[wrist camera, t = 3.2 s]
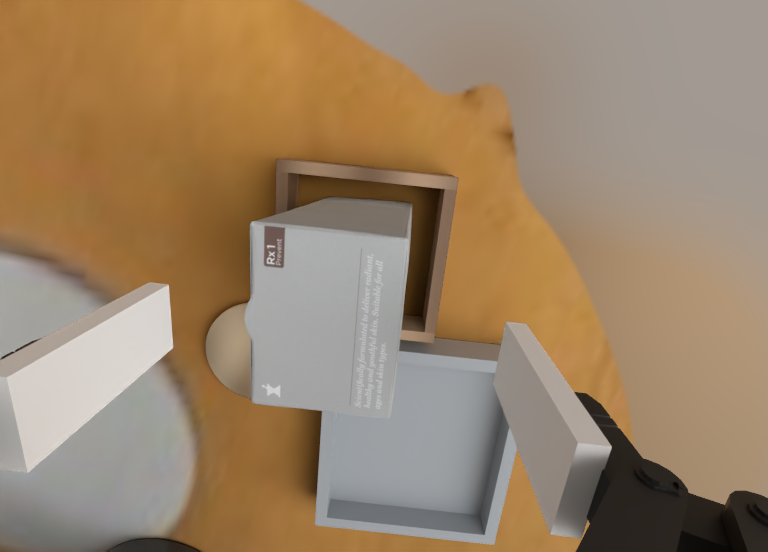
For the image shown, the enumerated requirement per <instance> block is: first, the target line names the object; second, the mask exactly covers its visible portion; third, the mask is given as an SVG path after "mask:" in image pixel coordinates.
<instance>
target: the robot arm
mask: <svg viewBox="0 0 768 552" xmlns="http://www.w3.org/2000/svg"><path fill="white" fill-rule="evenodd" d="M172 348H173V338H172V324H171V310H170V296H169V284H160V283H151V282H149V283H147V284H145V285H143V286H141V287H139V288H138V289H136V290H134V291H132V292H130V293H128V294H126V295H124V296H122V297H120V298H118V299H116V300H115V301H113V302H111V303H109V304H107V305H105V306H103V307H101V308H99V309H97V310H95V311H93V312H92V313H90V314H88V315H86V316H84V317H82V318H80V319H78V320H76V321H74V322H72V323H71V324H69V325H67V326H65V327H63V328H61V329H59V330H57V331H55V332H53V333H51V334H49V335H48V336H46V337H44V338H41V339H38V340H35V341H32V342H30V343H28V344H26V345H24V346H22V347H20V348H19V349H17V350H15V352H11V353H9V354H7V355H5V356H3V357H2V358H1V359H0V470H8V471H16V472H25V473H28V472H29V471H31V470H32V469H33V468H34V467H35V466H36V465H37V464H39V463H40V462H41V461H42V460H43V459H44V458H46V457H47V456H48V455H49V454H50V453H51V452H53V451H54V450H55V449H56V448H57V447H58V446H60V445H61V444H62V443H63V442H64V441H65V440H67V439H68V438H69V437H70V436H71V435H72V434H74V433H75V432H76V431H77V430H78V429H79V428H81V427H82V426H83V425H84V424H85V423H86V422H87V421H89V420H90V419H91V418H92V417H93V416H94V415H96V414H97V413H98V412H99V411H100V410H101V409H103V408H104V407H105V406H106V405H107V404H108V403H110V402H111V401H112V400H113V399H114V398H115V397H117V396H118V395H119V394H120V393H121V392H122V391H124V390H125V389H126V388H127V387H128V386H129V385H130V384H132V383H133V382H134V381H135V380H136V379H137V378H139V377H140V376H141V375H142V374H143V373H144V372H146V371H147V370H148V369H149V368H150V367H151V366H153V365H154V364H155V363H156V362H157V361H158V360H160V359H161V358H162V357H163V356H164V355H165V354H167V353H168V352H169V351H170V350H171V349H172ZM493 385H494V388H495V391H496V393H497V396H498V398H499V401H500V404H501V406H502V409H503V412H504V414H505V417H506V419H507V422H508V425H509V427H510V430H511V433H512V435H513V438H514V440H515V443H516V446H517V448H518V451H519V454H520V456H521V459H522V462H523V464H524V467H525V469H526V472H527V475H528V477H529V480H530V483H531V485H532V488H533V490H534V493H535V496H536V498H537V501H538V504H539V506H540V509H541V511H542V514H543V517H544V519H545V522H546V525H547V527H548V530H549V533H550V535H558V536H567V537H575V538H582V535H583V532H584V529H585V526H586V523H587V520H589V522H590V525H589V527H588V529H587V531H586V533H585V535H584V537H583V539H582V541H581V543H580V545H579V547H578V549H577V551H576V552H768V498H766V497H764V496H762V495H759V494H756V493H752V492H748V491H734V492H733V493H731V494H730V495H729V498H728V500H727V502H726V504H725V505H723V504H720V503H717V502H714V501H711V500H708V499H705V498H702V497H699V496H696V495H693V494H690V493H688V489H687V488H686V486H685V485H684V483H683V482H682V481H681V480H680V479H679V478H678V477H677V476H676V475H675V474H673V473H672V472H671V471H669V470H668V469H666V468H664V467H663V466H661V465H659V464H657V463H654V462H652V461H649V460H647V459H643V458H642V457H641V456H640V454H639V453H638V452H637V450H636V449H635V448H634V446H633V445H632V444H631V443H630V441H629V440H628V439H627V437H626V436H625V435H624V434H623V432H622V431H621V430H620V428H618V426H617V424H616V423H615V422H614V421H613V419H612V418H610V415H609V414H608V413H607V412H606V410H605V409H604V408H603V406H602V405H601V404H600V403H598V402H597V401H596V400H594V399H593V398H592V397H590V396H589V395H588V394H586V393H578V392H573V390H572V389H571V387H570V386H569V385H568V383H567V382H566V380H565V379H564V377H563V376H562V375H561V373H560V372H559V370H558V369H557V367H556V366H555V365H554V363H553V362H552V360H551V359H550V357H549V356H548V355H547V353H546V352H545V350H544V349H543V347H542V346H541V345H540V343H539V342H538V340H537V339H536V337H535V336H534V335H533V333H532V332H531V330H530V329H529V327H528V326H527V325H526V324H523V323H514V322H506V324H505V329H504V334H503V338H502V343H501V348H500V353H499V357H498V362H497V367H496V372H495V376H494V381H493ZM109 552H199V551H197V550H195V549H193V548H190V547H188V546H185V545H183V544H179V543H176V542H172V541H167V540H160V539H140V540H134V541H129V542H126V543H123V544H121V545H118V546H116V547H115V548H113V549H112V550H110V551H109Z"/></svg>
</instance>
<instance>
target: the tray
mask: <svg viewBox="0 0 768 552" xmlns="http://www.w3.org/2000/svg"><path fill="white" fill-rule="evenodd" d="M500 348H501V345H498V344H489V343H480V342H470V341H461V340H452V339H442V338H435V339H434V343H427V342H418V341H408V340H400V347H399V355H398V363H397V371H396V380H395V388H394V396H393V403H392V410H391V416H390V417H389V418H377V417H365V416H357V415H349V414H342V413H334V412H327V411H322V420H321V436H320V452H319V468H318V484H317V500H316V516H315V525H318V526H327V527H336V528H345V529H354V530H364V531H373V532H382V533H391V534H400V535H409V536H418V537H427V538H436V539H445V540H454V541H463V542H472V543H481V544H491V545H494V542H495V538H496V534H497V530H498V526H499V521H500V517H501V513H502V509H503V505H504V501H505V496H506V492H507V488H508V484H509V480H510V476H511V472H512V467H513V463H514V459H515V455H516V451H517V446H516V443H515V440H514V438H513V435H512V433H511V430H510V427H509V425H508V422H507V419H506V417H505V414H504V412H503V409H502V406H501V404H500V401H499V398H498V396H497V393H496V391H495V388H494V385H493V381H494V376H495V372H496V367H497V362H498V357H499V353H500Z"/></svg>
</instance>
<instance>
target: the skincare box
mask: <svg viewBox="0 0 768 552" xmlns="http://www.w3.org/2000/svg"><path fill="white" fill-rule="evenodd" d="M411 224H412V204H411V203H407V202H398V201H385V200H373V199H358V198H343V197H329V198H325V199H322V200H319V201H316V202H313V203H311V204H308V205H305V206H301V207H298V208H295V209H292V210H290V211H287V212H283V213H280V214H277V215H274V216H270V217H267V218H263V219H260V220H256V221H252V222H251V223H250V291H251V298H250V300H249V302H248V303H247V306H246V310H245V326H246V330H247V332H248V334H249V336H250V396H251V401H252V402H253V403H254V404H260V405H270V406H279V407H289V408H299V409H308V410H318V411H327V412H334V413H342V414H349V415H357V416H365V417H377V418H389V417H390V416H391V410H392V403H393V396H394V388H395V380H396V371H397V363H398V355H399V347H400V338H401V329H402V320H403V310H404V299H405V290H406V282H407V273H408V265H409V255H410V242H411Z"/></svg>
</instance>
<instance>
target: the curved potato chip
mask: <svg viewBox="0 0 768 552" xmlns="http://www.w3.org/2000/svg"><path fill="white" fill-rule="evenodd" d="M247 303H248V302H247ZM247 303H242V304H238V305H236V306H233V307H231V308H229V309H228V310H226V311H225V312H223V313H222V314H221V315H220V316H219V317H218V318H217V319H216V320H215V321H214V323H213V324H212V325H211V327H210V329H209V331H208V334H207V338H206V348H205V349H206V356H207V360H208V363H209V365H210V368H211V369H212V371H213V373H214V374H215V376H216V377H217V378H218V380H219V381H220V382H221V383H222V384H223V385H225V386H226V387H227V388H228V389H230V390H231V391H233V392H235V393H236V394H238V395H241V396H243V397H246V398H250V399H251V396H250V336H249V334H248V332H247V330H246V326H245V310H246V306H247Z"/></svg>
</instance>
